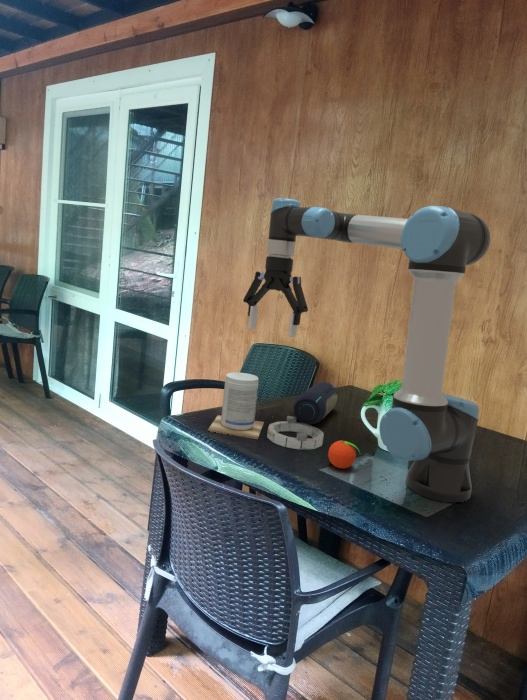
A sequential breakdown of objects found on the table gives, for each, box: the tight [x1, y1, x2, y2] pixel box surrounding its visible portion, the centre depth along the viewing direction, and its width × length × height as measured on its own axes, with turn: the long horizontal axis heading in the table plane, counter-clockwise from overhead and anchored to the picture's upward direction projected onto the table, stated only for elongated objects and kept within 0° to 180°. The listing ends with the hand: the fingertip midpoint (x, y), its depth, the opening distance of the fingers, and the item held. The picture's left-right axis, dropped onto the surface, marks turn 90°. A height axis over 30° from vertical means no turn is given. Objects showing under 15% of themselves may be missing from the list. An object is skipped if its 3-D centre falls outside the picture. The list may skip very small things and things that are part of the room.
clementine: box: [327, 439, 361, 469], centre depth 143 cm, size 8×7×7 cm
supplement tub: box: [221, 371, 259, 430], centre depth 163 cm, size 10×10×15 cm
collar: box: [266, 415, 325, 451], centre depth 160 cm, size 16×16×4 cm
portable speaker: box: [293, 381, 339, 425], centre depth 184 cm, size 25×10×10 cm, turn 159°
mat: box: [207, 414, 265, 440], centre depth 164 cm, size 14×14×1 cm
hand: (271, 332), depth 161 cm, fingers open, 13 cm apart
